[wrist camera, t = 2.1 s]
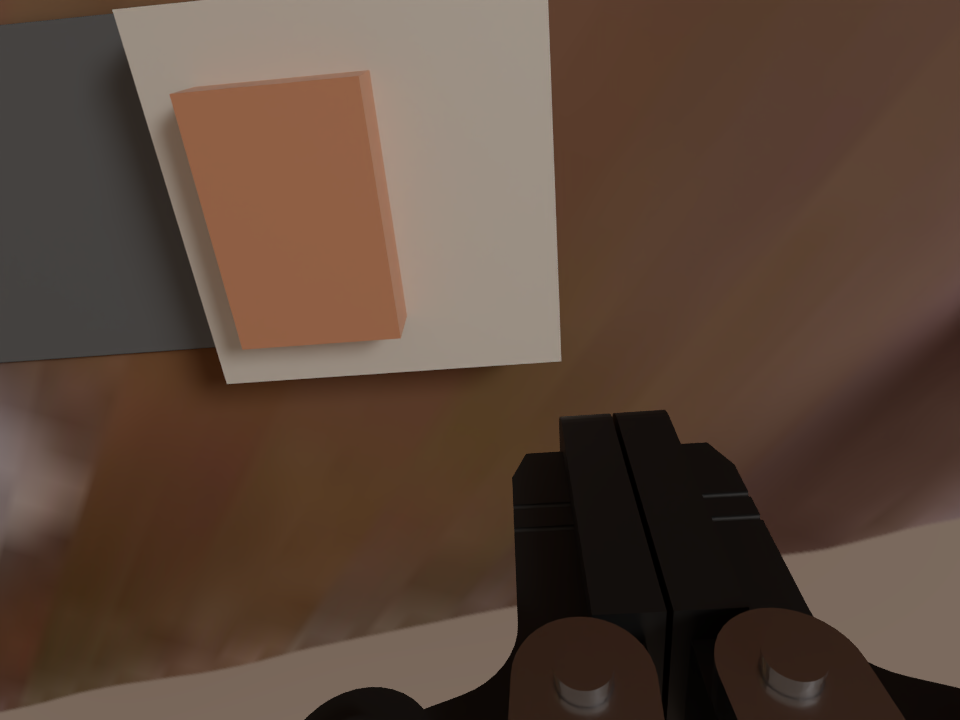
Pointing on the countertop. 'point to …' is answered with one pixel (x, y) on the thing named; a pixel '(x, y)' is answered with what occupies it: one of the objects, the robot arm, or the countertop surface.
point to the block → (296, 207)
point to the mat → (85, 204)
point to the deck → (390, 163)
